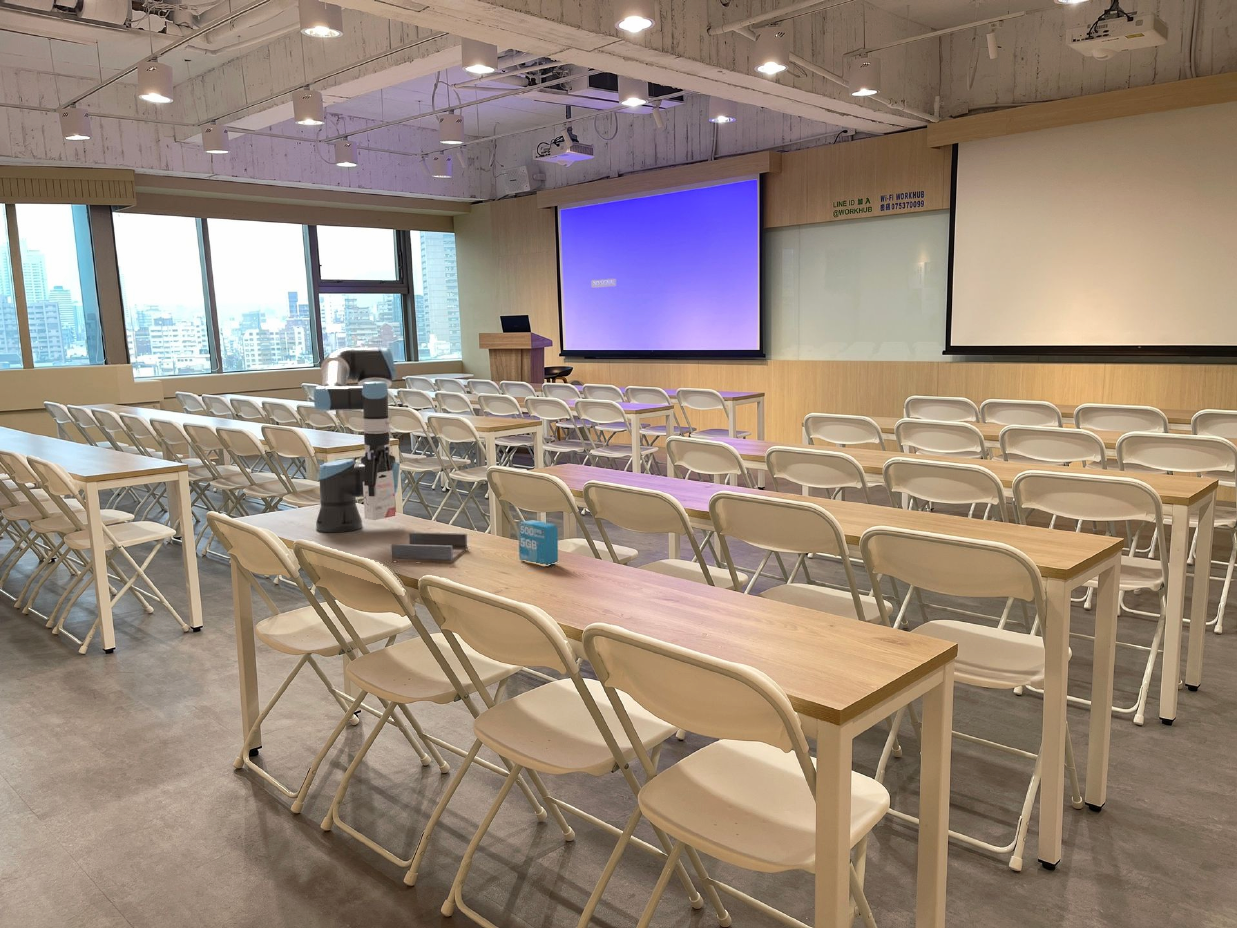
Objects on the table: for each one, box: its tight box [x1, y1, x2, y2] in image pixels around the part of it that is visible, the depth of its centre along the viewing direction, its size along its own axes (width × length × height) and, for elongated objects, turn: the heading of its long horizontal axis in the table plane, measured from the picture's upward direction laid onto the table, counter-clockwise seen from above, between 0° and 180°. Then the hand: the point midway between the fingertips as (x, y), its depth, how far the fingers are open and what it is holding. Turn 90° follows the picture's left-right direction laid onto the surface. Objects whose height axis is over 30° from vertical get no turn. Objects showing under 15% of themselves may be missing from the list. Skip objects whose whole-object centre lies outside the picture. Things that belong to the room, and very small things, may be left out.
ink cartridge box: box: [363, 470, 396, 521], centre depth 279 cm, size 9×5×15 cm, turn 143°
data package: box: [518, 519, 559, 565], centre depth 261 cm, size 12×4×12 cm, turn 49°
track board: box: [390, 531, 469, 565], centre depth 270 cm, size 18×18×5 cm
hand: (379, 502), depth 279 cm, fingers closed on ink cartridge box, 9 cm apart
